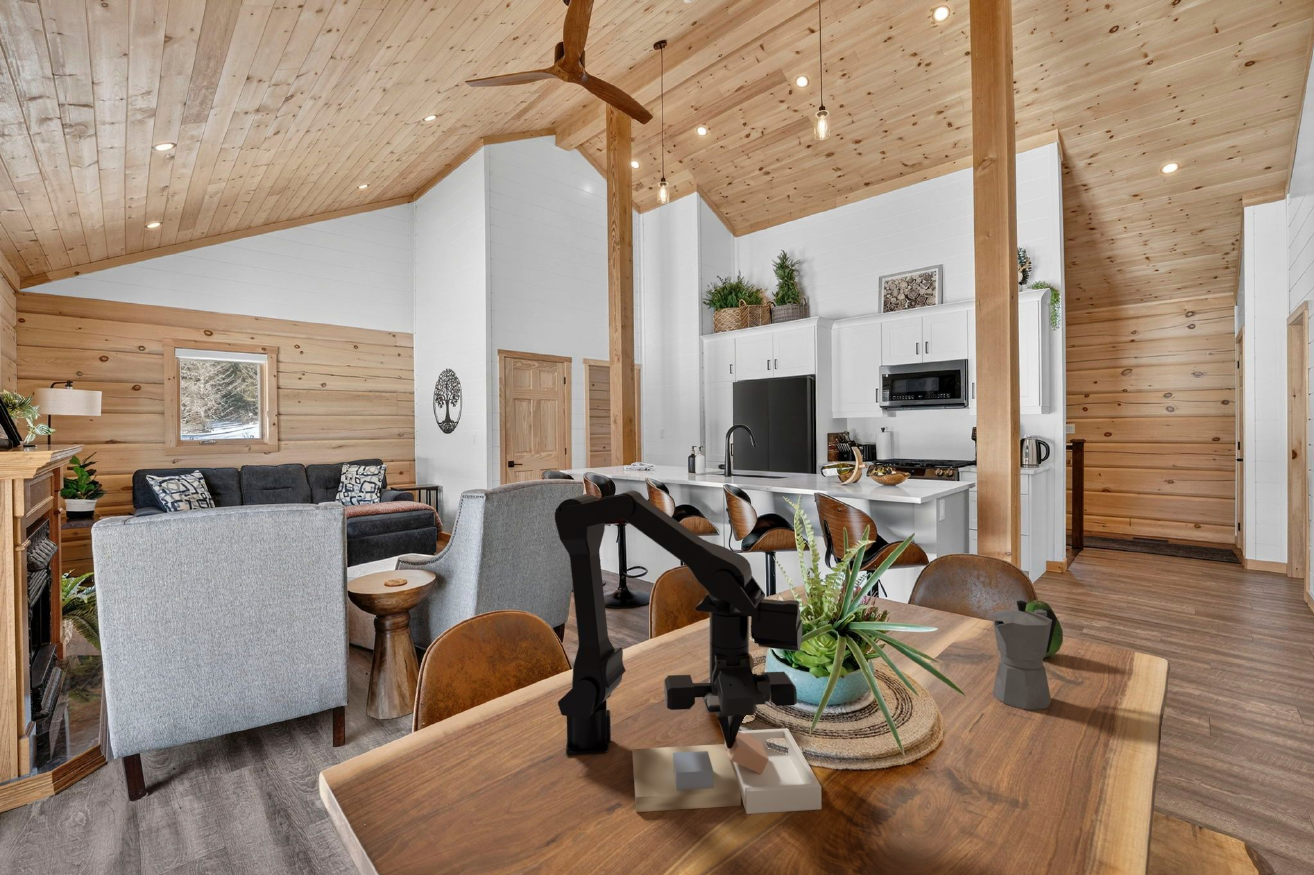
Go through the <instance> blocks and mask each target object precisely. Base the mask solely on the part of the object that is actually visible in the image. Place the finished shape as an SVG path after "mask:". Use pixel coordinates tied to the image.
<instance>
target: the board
mask: <svg viewBox="0 0 1314 875" xmlns="http://www.w3.org/2000/svg"><path fill="white" fill-rule="evenodd" d="M698 751H708V754H709V757H710V761H711V764H712V768H713V788H709V789H691V790H676V784H675V779H674V773H673V753H678V752H698ZM632 772H633V788H634V800H635V801H634V803H635V804H634V805H635V813H642V812H644V813H645V812H658V811H659V812H660V811H674V810H675V811H676V810H677V811H678V810H691V809H707V808H724V807H741V804H742V803H741V802H742V799H741V790H740V788H739V785H738V782H737V779H736V776H735V773H734V771H733V768H732V765H731V762H730V759H729V756H728V753H727V751H726V748H725V743H722V744H721V743H720V744H705V745H704V744H703V745H702V744H701V745H686V746H685V745H683V746H667V747H665V746H664V747H650V748H649V747H647V748H632Z"/></svg>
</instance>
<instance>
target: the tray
mask: <svg viewBox="0 0 1314 875" xmlns="http://www.w3.org/2000/svg"><path fill="white" fill-rule="evenodd" d="M738 731H739V732H741V733H743V734H745V735H747V736H750V737H752V738H754V739H756V740H758V741H761V744H762V746H763V748H764V750H765V752H766V754H767V756H768V759H769V760H768V762H767V764H766V766H765V768H764V770H763V772H762V774H760V773H757V772H755V771H753V770H751V769H749V768H746V767H744V766H742V765H740V764H737V763H735V762H733V761H731V760H730V762H731V765H732V768H733V771H734V773H735V776H736V779H737V782H738V785H739V788H740V790H741V802H742V804H743V807H744V810H745V813H746V814H747V815H749V814H751V815H752V814H765V813H766V814H767V813H785V812H786V813H787V812H799V811H814V810H822V785H821V783H820V782H819V781H818V779H817V777H816V775H815V773H814V772H813V770H812V768H811V766H810V764H809V763H808V761H807V759H806V757H805V756H804V754H803V753H802V751H801V749H800V748H799V746H798V744H797V742H796V740H795V739H794V737H793V735H792V733H791V731H790V730H789V728H787V727H786V728H770V729H753V730H752V729H749V730H748V729H747V730H738ZM770 738H785V740H786V742H787V743H788V745H789V749H788V755H786V754H783V753H780V752H777V751H774V750H772V749H768V748H769V747H768V745H767V743H766V742H765V741H766V740H767V739H770ZM724 745H725V744H724ZM725 748H726V745H725ZM726 751H727V748H726ZM727 753H728V751H727ZM728 756H729V754H728ZM729 759H730V757H729Z"/></svg>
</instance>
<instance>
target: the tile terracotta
mask: <svg viewBox="0 0 1314 875" xmlns="http://www.w3.org/2000/svg"><path fill="white" fill-rule="evenodd" d="M739 731H740V730H738V733H737V736H736V739H735V741H734V744H733V747H732V748H731V749H728V748H727V746H726V748H727V751H728V754H729V757H730V760H731V761H733V762H735V763H737V764H740V765H742V766H744V767H746V768H749V769H751V770H753V771H755V772H757V773H760V774H762V772H763V770H764V768H765V766H766V764H767V762H768V760H769V759H768V756H767V754H766V752H765V750H764V748H763V746H762V744H761V741H758V740H756V739H754V738H752V737H750V736H747V735H745V734H743V733H741V732H739ZM723 744H724V745H726V742H725V741H724V743H723Z"/></svg>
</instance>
